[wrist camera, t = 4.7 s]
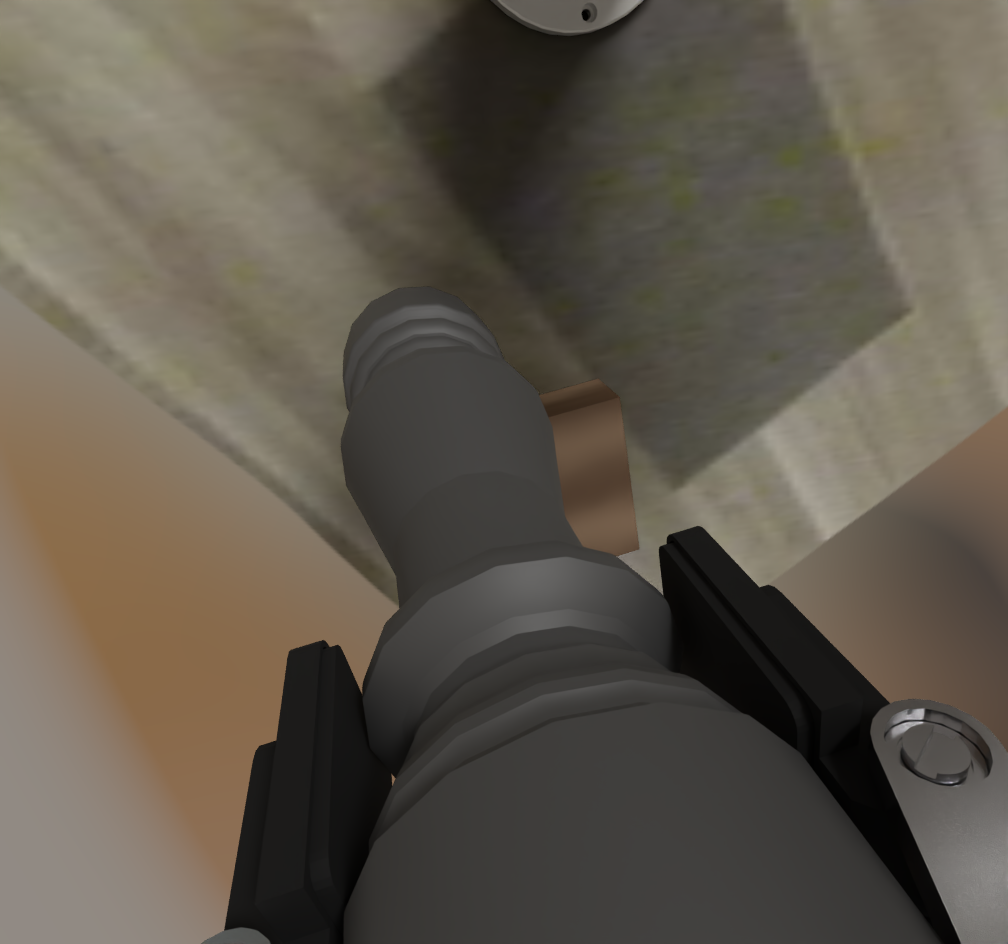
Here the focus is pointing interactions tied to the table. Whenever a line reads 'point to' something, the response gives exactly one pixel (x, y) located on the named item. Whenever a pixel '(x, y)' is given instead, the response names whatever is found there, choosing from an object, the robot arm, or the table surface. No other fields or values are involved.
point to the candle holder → (556, 699)
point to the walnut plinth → (593, 466)
